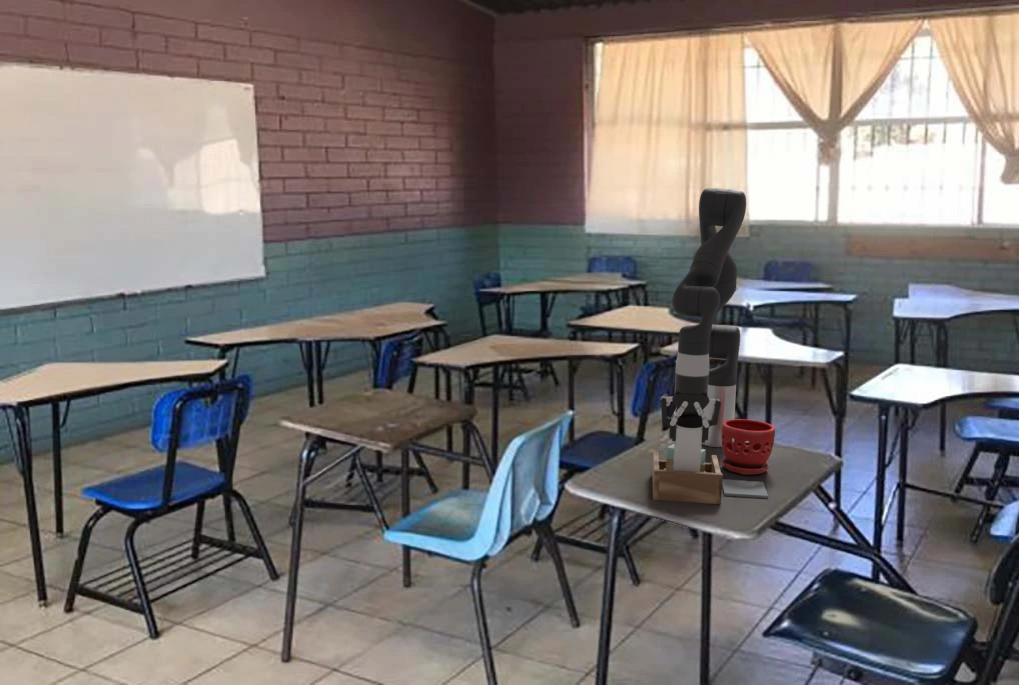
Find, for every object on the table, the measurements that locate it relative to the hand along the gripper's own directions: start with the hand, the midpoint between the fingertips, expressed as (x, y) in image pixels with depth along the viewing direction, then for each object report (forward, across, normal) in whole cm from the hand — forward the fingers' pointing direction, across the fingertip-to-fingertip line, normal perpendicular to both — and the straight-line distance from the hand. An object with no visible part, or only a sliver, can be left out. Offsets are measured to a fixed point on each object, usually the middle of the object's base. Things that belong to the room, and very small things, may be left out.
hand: (688, 440), depth 226 cm
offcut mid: (+10, 0, -7) cm, 12 cm away
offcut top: (+7, 0, -7) cm, 10 cm away
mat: (+13, -14, -4) cm, 19 cm away
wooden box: (+13, 0, -2) cm, 13 cm away
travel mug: (+13, 0, 0) cm, 13 cm away
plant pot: (+13, -16, -20) cm, 29 cm away
